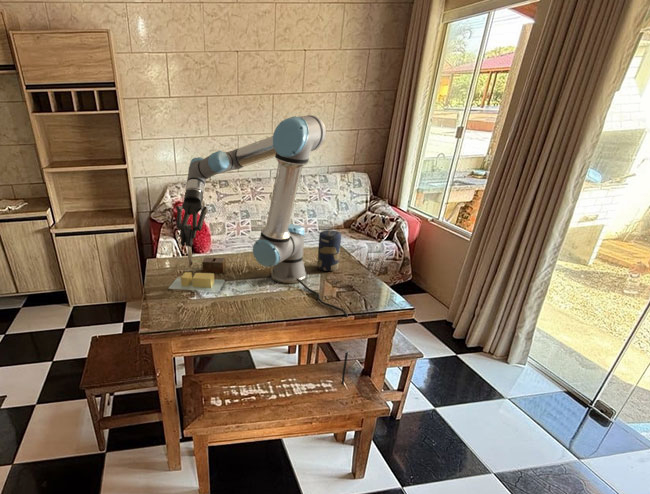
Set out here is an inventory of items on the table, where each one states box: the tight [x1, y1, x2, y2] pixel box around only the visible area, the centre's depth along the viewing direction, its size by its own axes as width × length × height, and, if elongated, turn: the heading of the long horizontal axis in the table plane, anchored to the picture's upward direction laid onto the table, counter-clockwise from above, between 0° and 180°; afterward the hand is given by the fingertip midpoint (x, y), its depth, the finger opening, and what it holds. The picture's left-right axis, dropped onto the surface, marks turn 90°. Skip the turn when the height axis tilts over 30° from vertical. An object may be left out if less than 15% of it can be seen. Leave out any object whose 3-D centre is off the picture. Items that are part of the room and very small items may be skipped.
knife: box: [184, 224, 194, 268], centre depth 167 cm, size 2×3×17 cm
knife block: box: [201, 257, 227, 274], centre depth 187 cm, size 10×6×6 cm, turn 78°
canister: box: [316, 229, 342, 272], centre depth 182 cm, size 10×10×18 cm
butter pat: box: [180, 271, 193, 287], centre depth 174 cm, size 3×6×4 cm, turn 168°
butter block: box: [192, 272, 215, 288], centre depth 173 cm, size 8×6×4 cm
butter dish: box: [168, 277, 225, 292], centre depth 175 cm, size 22×12×1 cm, turn 78°
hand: (186, 245), depth 162 cm, fingers closed on knife, 2 cm apart
